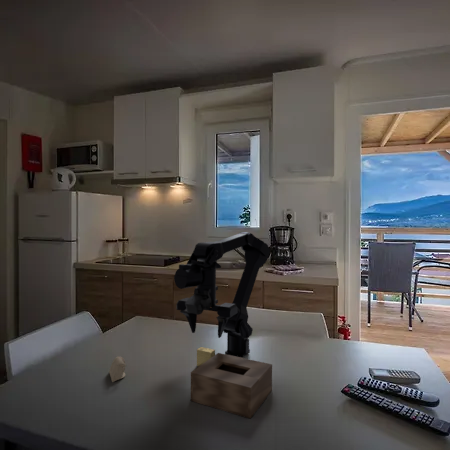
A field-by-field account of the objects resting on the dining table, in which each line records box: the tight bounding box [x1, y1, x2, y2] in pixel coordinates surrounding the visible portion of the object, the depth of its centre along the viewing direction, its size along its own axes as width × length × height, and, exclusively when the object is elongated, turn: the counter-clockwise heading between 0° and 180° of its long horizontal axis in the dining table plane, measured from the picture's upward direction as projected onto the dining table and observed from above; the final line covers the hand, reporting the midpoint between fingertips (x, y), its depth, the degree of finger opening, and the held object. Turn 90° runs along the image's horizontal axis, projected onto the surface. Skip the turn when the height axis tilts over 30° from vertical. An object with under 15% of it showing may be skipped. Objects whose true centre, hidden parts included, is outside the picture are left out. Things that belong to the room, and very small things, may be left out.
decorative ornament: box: [108, 356, 127, 383], centre depth 95 cm, size 4×8×5 cm, turn 25°
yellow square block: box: [196, 346, 216, 367], centre depth 102 cm, size 5×2×5 cm, turn 62°
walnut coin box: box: [190, 352, 273, 419], centre depth 85 cm, size 16×14×7 cm
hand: (206, 335), depth 102 cm, fingers open, 9 cm apart
